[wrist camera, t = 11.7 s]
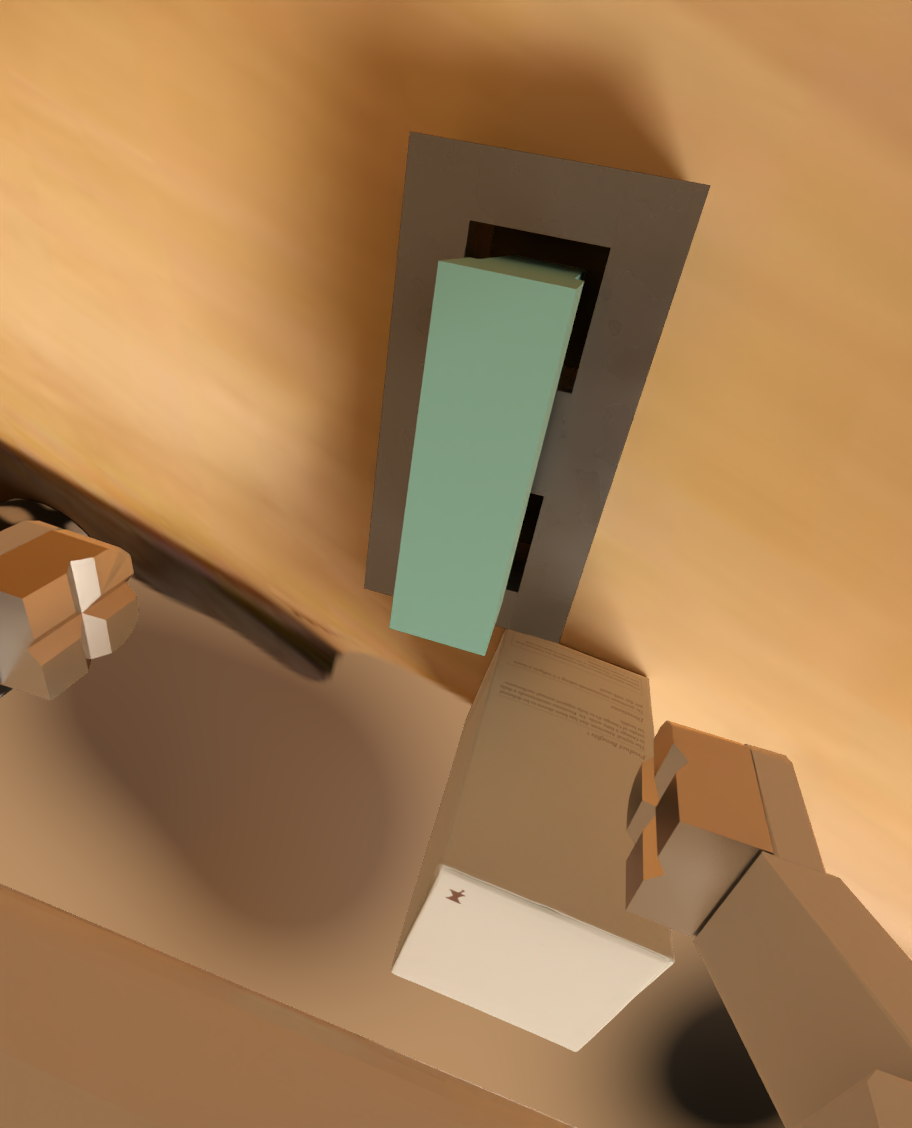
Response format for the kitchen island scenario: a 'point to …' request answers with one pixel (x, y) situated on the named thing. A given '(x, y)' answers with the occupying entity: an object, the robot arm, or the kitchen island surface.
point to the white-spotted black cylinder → (29, 510)
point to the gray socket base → (584, 396)
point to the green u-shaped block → (479, 439)
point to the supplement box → (539, 849)
